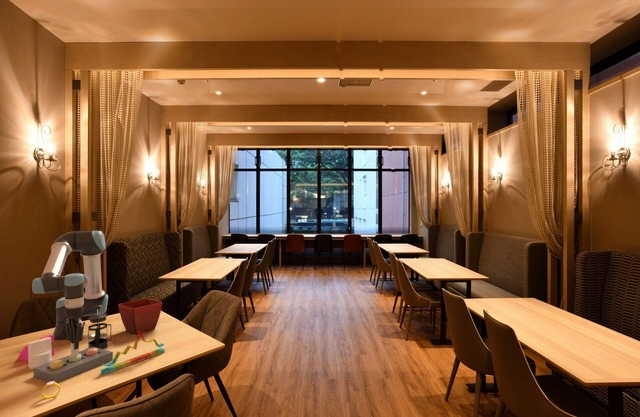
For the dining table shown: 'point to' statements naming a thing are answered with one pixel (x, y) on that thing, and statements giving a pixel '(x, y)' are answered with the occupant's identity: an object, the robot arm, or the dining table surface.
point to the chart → (133, 360)
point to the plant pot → (140, 314)
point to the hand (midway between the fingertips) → (74, 355)
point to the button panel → (72, 366)
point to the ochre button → (56, 364)
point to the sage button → (74, 358)
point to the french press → (98, 331)
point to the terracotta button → (91, 351)
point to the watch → (50, 385)
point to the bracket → (24, 353)
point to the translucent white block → (39, 352)
